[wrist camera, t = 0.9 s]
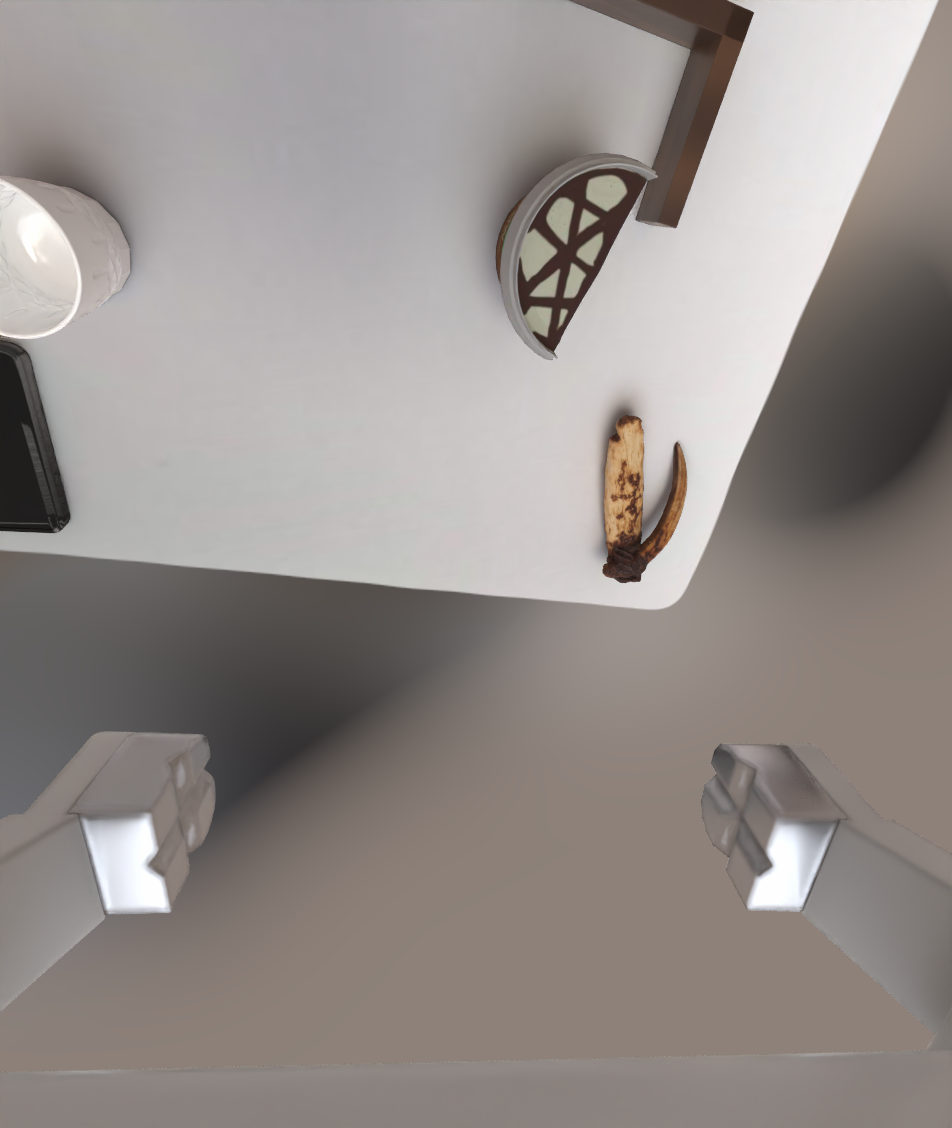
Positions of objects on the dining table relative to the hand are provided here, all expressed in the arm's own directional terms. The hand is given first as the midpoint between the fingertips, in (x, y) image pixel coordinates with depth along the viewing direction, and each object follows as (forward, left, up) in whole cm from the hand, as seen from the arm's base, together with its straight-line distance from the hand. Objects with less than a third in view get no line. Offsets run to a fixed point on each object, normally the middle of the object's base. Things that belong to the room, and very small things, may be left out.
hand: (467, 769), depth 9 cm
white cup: (0, -21, -42) cm, 47 cm away
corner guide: (-16, +12, -42) cm, 46 cm away
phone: (+15, -28, -42) cm, 52 cm away
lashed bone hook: (+11, +26, -42) cm, 50 cm away
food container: (-7, +9, -42) cm, 43 cm away
